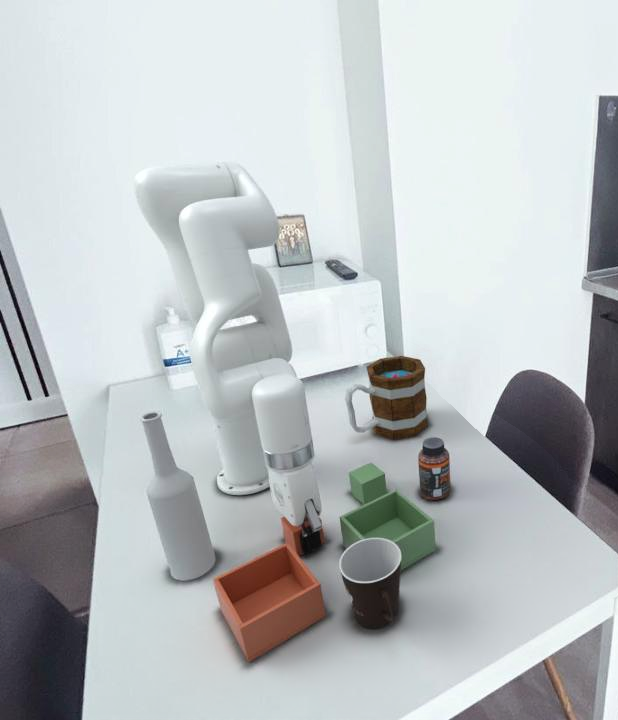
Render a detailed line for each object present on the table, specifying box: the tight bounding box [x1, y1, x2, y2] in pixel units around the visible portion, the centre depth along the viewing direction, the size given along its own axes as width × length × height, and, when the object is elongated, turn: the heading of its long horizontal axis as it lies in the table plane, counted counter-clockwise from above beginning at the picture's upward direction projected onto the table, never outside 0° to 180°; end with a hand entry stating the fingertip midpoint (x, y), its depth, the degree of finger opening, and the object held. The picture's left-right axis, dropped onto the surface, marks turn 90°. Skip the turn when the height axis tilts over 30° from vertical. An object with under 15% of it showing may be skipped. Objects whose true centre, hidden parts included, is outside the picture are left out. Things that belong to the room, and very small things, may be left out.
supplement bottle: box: [417, 436, 451, 501], centre depth 103 cm, size 6×6×11 cm
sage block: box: [348, 462, 388, 506], centre depth 104 cm, size 5×5×5 cm
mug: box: [344, 355, 429, 441], centre depth 124 cm, size 20×14×15 cm
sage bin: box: [338, 488, 436, 572], centre depth 91 cm, size 11×11×6 cm
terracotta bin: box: [212, 542, 327, 663], centre depth 79 cm, size 11×11×6 cm
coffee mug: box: [338, 538, 402, 631], centre depth 77 cm, size 12×9×10 cm
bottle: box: [139, 410, 217, 582], centre depth 83 cm, size 7×7×28 cm
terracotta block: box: [280, 514, 326, 557], centre depth 93 cm, size 5×5×5 cm
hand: (304, 539), depth 93 cm, fingers closed on terracotta block, 5 cm apart
